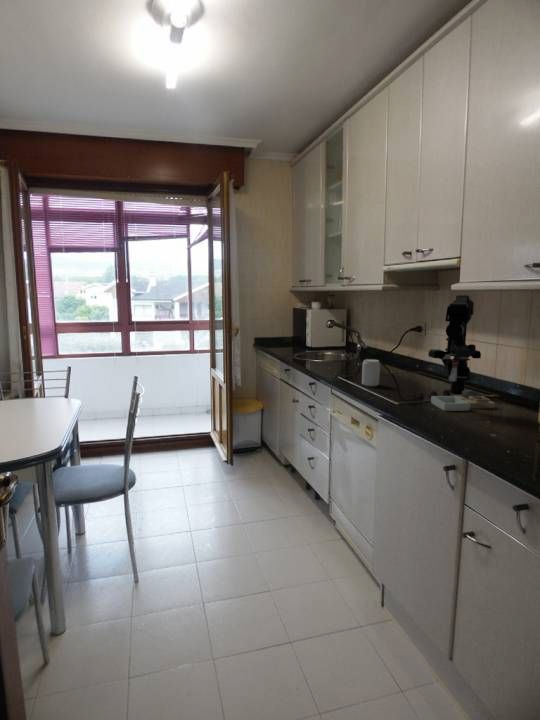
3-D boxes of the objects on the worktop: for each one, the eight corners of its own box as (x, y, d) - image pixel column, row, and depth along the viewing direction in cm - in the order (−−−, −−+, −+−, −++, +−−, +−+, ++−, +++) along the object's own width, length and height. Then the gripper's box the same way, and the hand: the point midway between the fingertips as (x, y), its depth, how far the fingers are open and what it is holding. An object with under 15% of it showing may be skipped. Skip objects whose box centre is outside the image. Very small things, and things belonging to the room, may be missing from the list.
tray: (430, 402, 184) (431, 396, 184) (454, 402, 185) (455, 395, 184) (444, 410, 172) (444, 403, 172) (469, 410, 173) (469, 403, 173)
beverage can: (371, 382, 222) (372, 358, 220) (382, 385, 215) (383, 361, 213) (358, 384, 218) (359, 359, 216) (368, 387, 211) (370, 362, 209)
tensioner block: (453, 399, 190) (454, 388, 189) (476, 399, 191) (477, 388, 190) (470, 408, 176) (471, 397, 175) (494, 408, 177) (495, 396, 176)
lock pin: (445, 379, 178) (447, 359, 177) (454, 379, 179) (456, 359, 177) (450, 381, 175) (451, 361, 173) (459, 381, 175) (461, 361, 174)
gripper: (442, 338, 165) (439, 379, 168) (490, 338, 167) (486, 379, 169) (429, 335, 176) (426, 374, 179) (474, 335, 178) (471, 374, 180)
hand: (452, 375), depth 176 cm, fingers closed on lock pin, 3 cm apart
